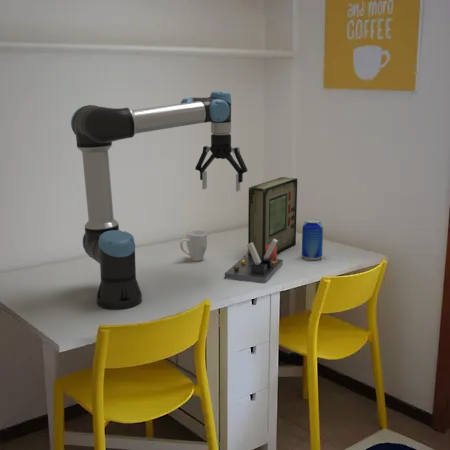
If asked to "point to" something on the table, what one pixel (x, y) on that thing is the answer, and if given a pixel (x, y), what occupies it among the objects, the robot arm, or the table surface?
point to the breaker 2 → (270, 249)
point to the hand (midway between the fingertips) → (221, 189)
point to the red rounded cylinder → (273, 252)
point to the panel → (247, 270)
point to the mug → (195, 244)
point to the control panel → (272, 214)
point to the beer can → (312, 239)
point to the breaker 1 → (254, 253)
